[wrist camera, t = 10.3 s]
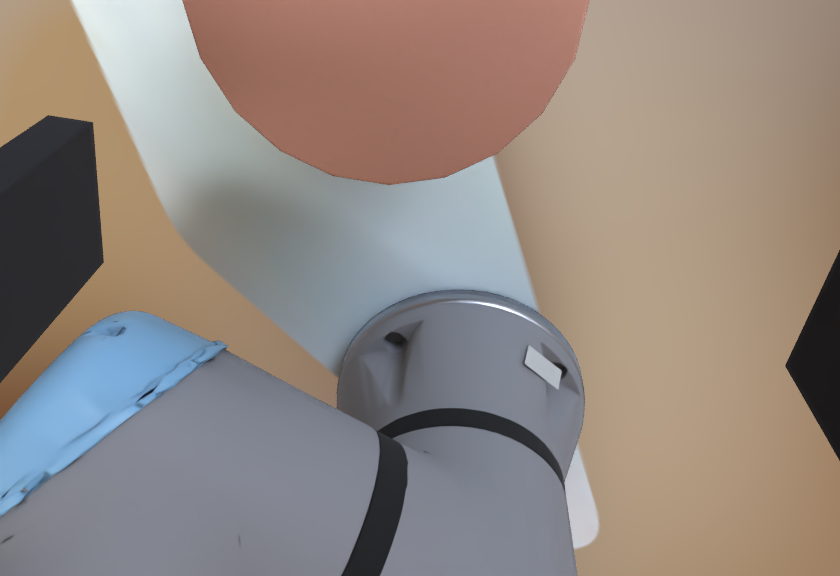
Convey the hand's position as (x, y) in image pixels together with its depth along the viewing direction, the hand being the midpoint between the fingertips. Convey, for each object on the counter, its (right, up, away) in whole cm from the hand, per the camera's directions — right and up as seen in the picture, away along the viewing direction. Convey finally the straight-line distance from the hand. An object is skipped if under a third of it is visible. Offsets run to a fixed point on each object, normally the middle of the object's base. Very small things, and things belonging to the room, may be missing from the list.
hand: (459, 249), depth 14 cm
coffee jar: (0, +16, +22) cm, 27 cm away
